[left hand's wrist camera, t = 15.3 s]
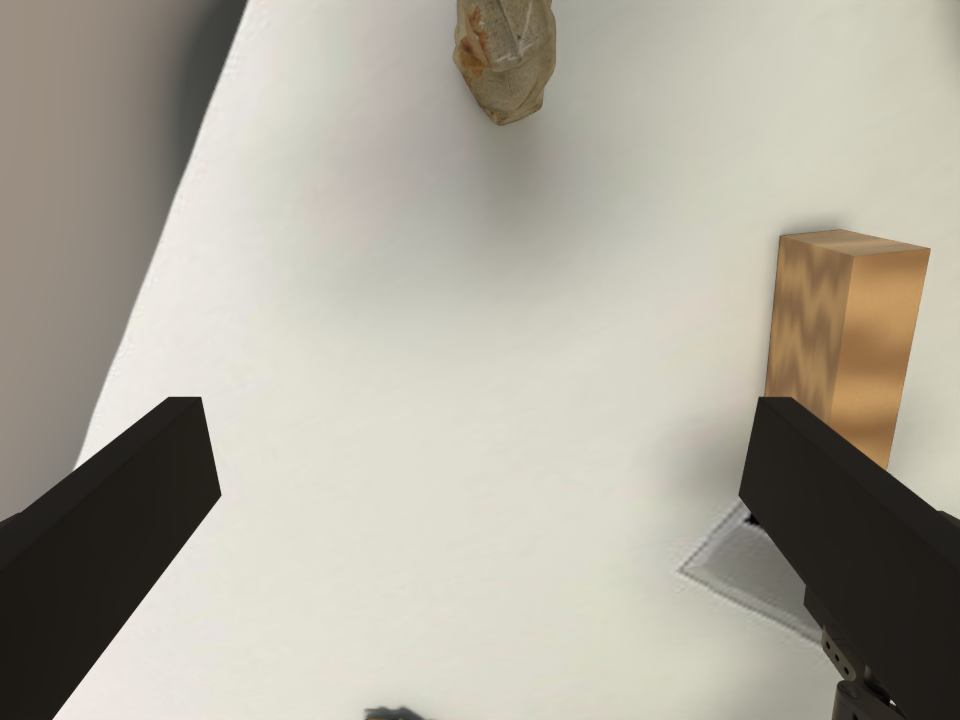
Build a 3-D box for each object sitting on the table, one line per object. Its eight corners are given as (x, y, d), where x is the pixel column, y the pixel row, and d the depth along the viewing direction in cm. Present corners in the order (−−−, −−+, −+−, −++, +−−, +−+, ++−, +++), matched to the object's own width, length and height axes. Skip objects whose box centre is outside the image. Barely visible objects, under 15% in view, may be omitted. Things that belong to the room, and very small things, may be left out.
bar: (780, 235, 42) (854, 256, 34) (841, 229, 42) (931, 248, 34) (756, 482, 50) (810, 548, 42) (807, 478, 50) (872, 543, 42)
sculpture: (523, -4, 36) (550, -103, 22) (554, 107, 39) (595, 81, 25) (442, 30, 37) (419, -46, 23) (477, 136, 39) (476, 127, 25)
